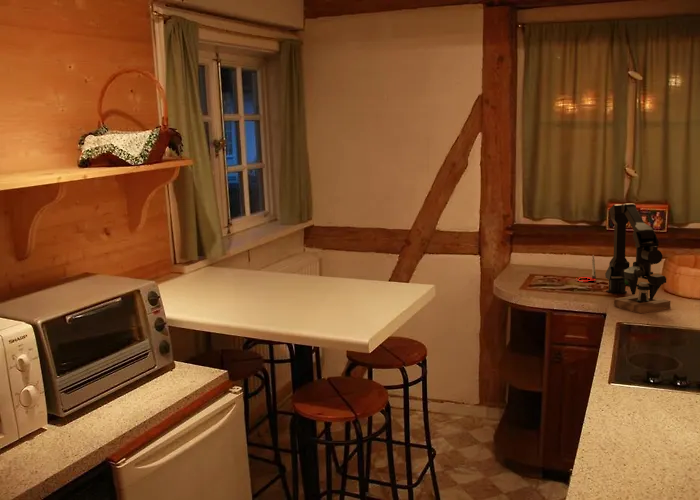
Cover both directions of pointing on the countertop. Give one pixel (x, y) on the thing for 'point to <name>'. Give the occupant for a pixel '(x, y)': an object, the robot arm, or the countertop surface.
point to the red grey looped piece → (592, 272)
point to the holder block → (641, 304)
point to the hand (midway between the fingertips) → (642, 296)
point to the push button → (643, 292)
